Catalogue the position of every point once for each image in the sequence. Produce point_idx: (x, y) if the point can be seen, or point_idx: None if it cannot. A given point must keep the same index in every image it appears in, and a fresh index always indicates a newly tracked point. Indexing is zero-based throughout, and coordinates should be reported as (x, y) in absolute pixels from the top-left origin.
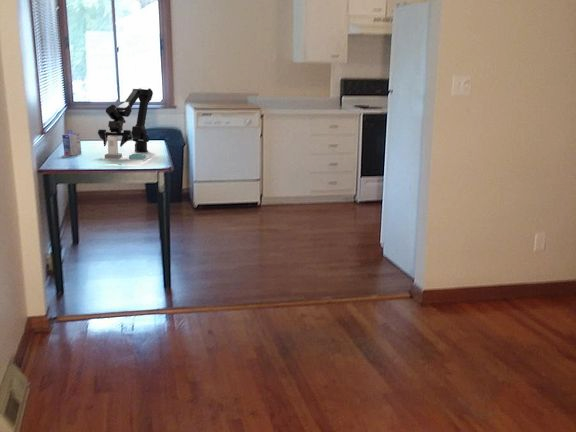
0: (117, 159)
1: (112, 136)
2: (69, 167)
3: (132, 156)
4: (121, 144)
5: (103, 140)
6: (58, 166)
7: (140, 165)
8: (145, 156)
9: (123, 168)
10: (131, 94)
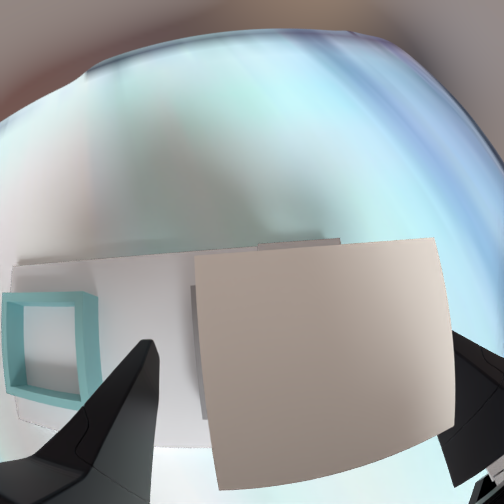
0: (186, 252)
1: (352, 377)
2: (347, 57)
3: (62, 293)
4: (128, 357)
5: (471, 343)
6: (398, 75)
7: (35, 157)
8: (16, 381)
9: (107, 76)
10: None
